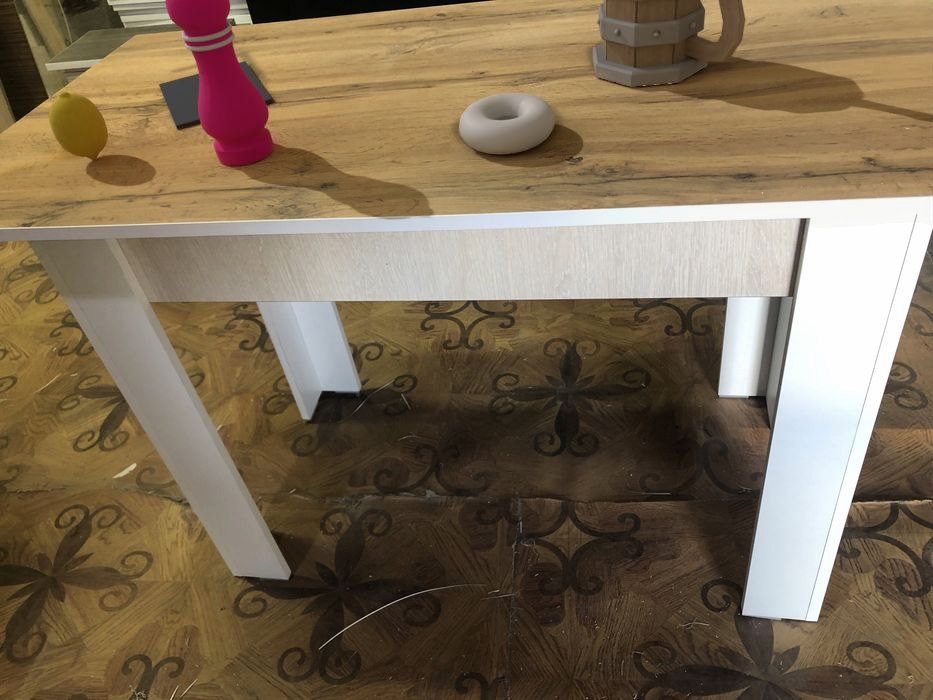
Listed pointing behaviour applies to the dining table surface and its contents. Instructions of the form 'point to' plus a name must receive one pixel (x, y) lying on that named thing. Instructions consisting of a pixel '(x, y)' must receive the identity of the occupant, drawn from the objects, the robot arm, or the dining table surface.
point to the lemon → (78, 125)
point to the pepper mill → (223, 83)
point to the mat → (196, 96)
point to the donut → (506, 123)
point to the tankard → (661, 40)
